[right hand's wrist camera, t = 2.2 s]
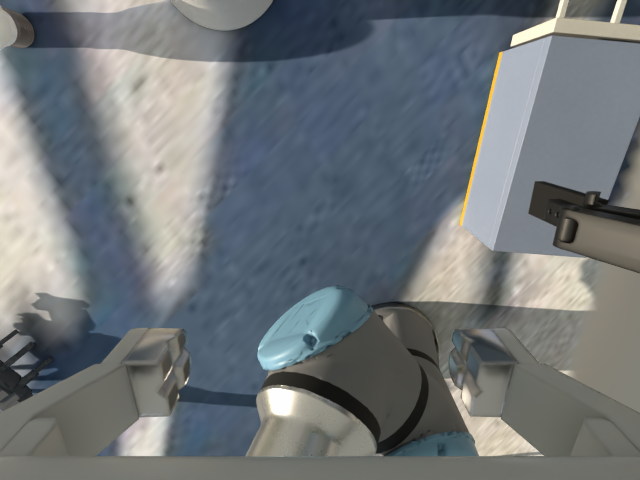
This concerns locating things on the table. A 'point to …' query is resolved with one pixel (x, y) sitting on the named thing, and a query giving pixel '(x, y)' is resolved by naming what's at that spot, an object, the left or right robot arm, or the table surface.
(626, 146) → the cabinet
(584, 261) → the table surface
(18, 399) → the toy
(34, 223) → the table surface
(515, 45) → the drawer
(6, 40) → the light bulb
